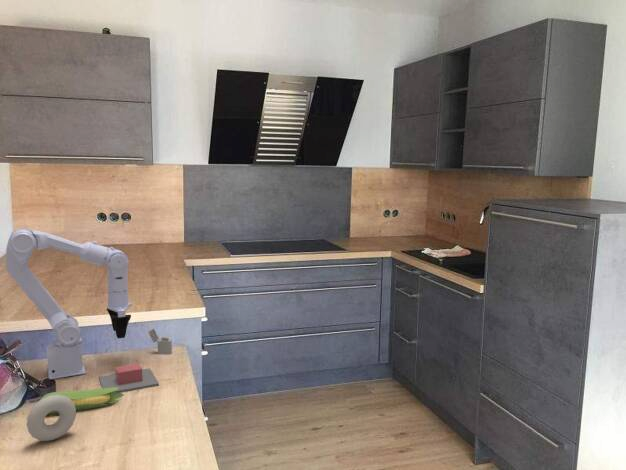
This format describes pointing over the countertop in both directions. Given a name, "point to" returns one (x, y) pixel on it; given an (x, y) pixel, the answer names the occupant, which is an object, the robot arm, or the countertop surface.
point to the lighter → (161, 343)
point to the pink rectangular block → (128, 374)
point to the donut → (43, 408)
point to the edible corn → (89, 398)
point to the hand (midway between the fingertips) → (119, 334)
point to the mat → (111, 382)
